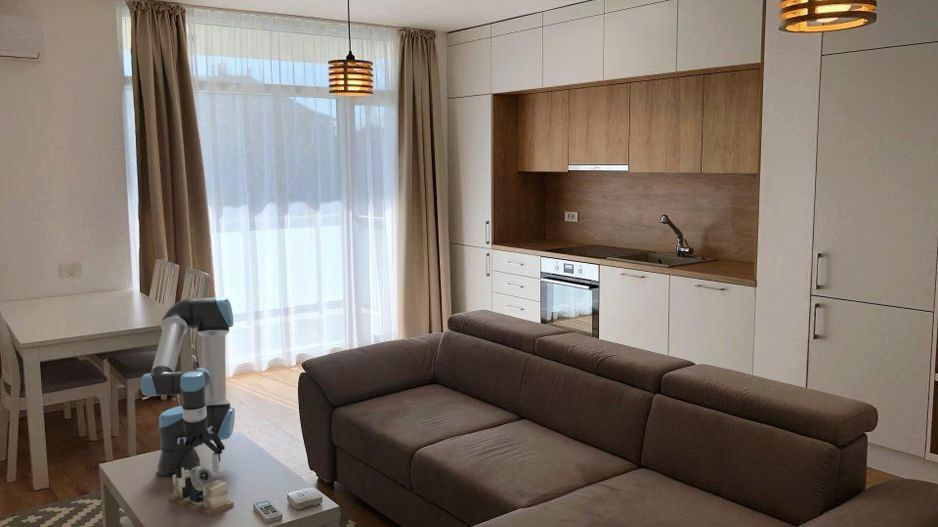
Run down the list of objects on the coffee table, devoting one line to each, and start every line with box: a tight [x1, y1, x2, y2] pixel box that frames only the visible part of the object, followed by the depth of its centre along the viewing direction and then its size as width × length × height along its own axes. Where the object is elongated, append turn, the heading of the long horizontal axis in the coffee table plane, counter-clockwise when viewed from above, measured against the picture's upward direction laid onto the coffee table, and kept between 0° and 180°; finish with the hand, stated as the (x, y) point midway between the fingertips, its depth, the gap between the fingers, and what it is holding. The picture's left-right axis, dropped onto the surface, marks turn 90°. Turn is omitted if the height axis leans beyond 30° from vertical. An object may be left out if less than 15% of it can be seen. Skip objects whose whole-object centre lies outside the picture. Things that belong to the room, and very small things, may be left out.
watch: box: [189, 465, 212, 503], centre depth 264 cm, size 6×8×11 cm
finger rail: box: [168, 470, 235, 517], centre depth 264 cm, size 23×9×8 cm, turn 55°
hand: (199, 478), depth 264 cm, fingers open, 13 cm apart
